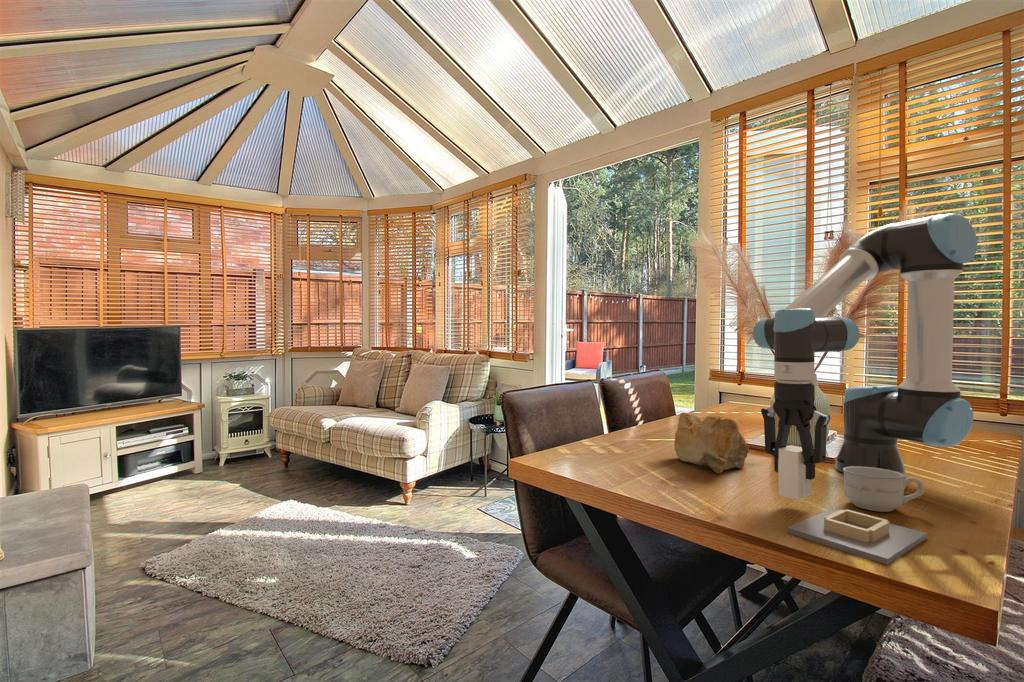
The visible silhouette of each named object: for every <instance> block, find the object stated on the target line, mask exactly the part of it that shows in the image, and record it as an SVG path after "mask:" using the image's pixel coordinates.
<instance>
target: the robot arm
mask: <svg viewBox="0 0 1024 682" xmlns="http://www.w3.org/2000/svg"><path fill="white" fill-rule="evenodd" d="M976 233H977V232H976V231H975V228H974V227H973V225H972V224H971V223H970V222H969V220H968V219H967V218H965V217H964V216H963V215H961V214H958V213H945V214H932V215H931V216H930V215H929V216H926V217H925V216H924V217H919V218H916V219H910V220H904V221H901V222H893V223H889V224H886V225H883V226H880V227H878V228H876V229H874V230H872V231H870V232H869V233H867V234H866V235H864V236H863V237H861V238H859V239H858V240H856V241H855V242H854V243H853V244H852V243H851V245H850V246H848V247H847V248H846V249H845V250H844V251H843V252H842V253H841V254H840V255H839V258H838V261H837V262H836V263H835V264H834V265H833V266H832V267H830V268H829V270H828V271H826V272H825V273H824V274H822V276H821V277H819V278H818V279H817V280H816V281H815V282H814V283H812V284H811V285H810V286H809V287H808V288H807V289H806V290H805V291H803V292H802V293H801V294H800V295H799V296H798V297H796V298H795V299H794V300H793V301H792V302H791V303H790V304H788V306H786V307H785V308H782V309H781V308H780V309H778V310H775V311H776V312H775V313H774V317H773V318H772V317H767V318H763V319H759V321H757V322H756V323H755V324H754V327H753V330H752V337H753V340H754V342H755V344H756V345H757V346H758V347H759V348H761V349H768V350H771V351H774V352H773V353H774V354H773V355H774V357H773V359H774V360H773V364H774V365H773V370H774V374H773V375H774V376H773V377H774V379H775V382H774V383H773V384H774V385H773V388H774V389H773V391H774V392H773V393H774V394H773V396H774V403H773V404H772V406H770V407H769V406H768V407H764V408H761V410H760V413H761V416H762V419H763V431H764V433H763V434H764V451H765V453H766V454H770V455H771V456H773V458H774V460H773V461H774V462H773V463H774V472H775V473H778V474H777V482H778V484H777V485H778V487H777V489H778V490H779V449H780V448H783V447H787V446H788V445H787V444H788V439H789V435H790V430H791V428H792V426H794V427H795V428H796V431H797V432H798V436H799V441H800V447H802V451H803V456H804V461H805V462H803V463H801V495H804V496H805V495H807V494H809V493H810V494H812V480H814V479H815V478H816V464H820V463H823V462H825V461H826V458H827V433H828V432H827V430H828V424H829V423H830V421H831V416H830V415H829V414H824V413H822V412H820V411H818V410H817V408H816V405H815V400H816V399H815V391H816V390H815V386H816V385H815V384H814V382H813V381H815V379H816V378H815V377H816V376H815V375H816V374H815V371H816V370H815V362H816V361H815V355H816V354H815V353H830V352H831V353H833V352H834V353H835V352H836V353H841V352H844V351H849V350H852V349H853V348H855V346H856V345H857V344H858V342H859V339H860V329H859V325H857V323H856V322H855V321H854V320H853V319H850V318H848V317H840V316H832V317H831V316H830V317H826V316H827V314H829V313H830V312H831V311H833V310H834V308H835V307H836V306H837V305H839V304H840V303H841V302H842V301H843V300H844V299H845V298H847V296H849V295H850V294H851V293H852V292H853V291H854V290H855V289H856V288H858V287H859V286H860V285H861V284H862V283H864V282H868V281H870V280H873V279H874V278H875V277H876V276H877V275H879V274H882V273H885V272H889V271H894V270H899V272H900V274H899V276H900V277H902V278H903V279H904V280H906V282H907V301H906V303H907V304H906V305H907V306H906V308H907V309H906V310H907V311H906V344H905V345H906V346H905V347H906V348H905V350H906V351H905V353H906V354H905V355H906V357H905V361H906V362H905V380H904V381H903V382H901V383H900V384H899V385H898V386H897V385H868V386H867V385H866V386H852V387H851V386H850V387H848V388H846V390H845V391H844V397H843V402H842V404H843V442H842V444H841V446H840V449H839V450H838V454H837V456H836V458H835V469H836V470H837V471H838V472H840V473H842V474H844V471H843V468H845V467H853V466H855V467H872V468H880V469H886V470H891V471H895V472H899V473H901V474H903V475H904V478H906V467H905V465H904V462H903V460H902V456H901V453H900V451H899V449H898V440H902V441H903V440H904V441H908V442H914V443H918V444H924V445H926V446H930V447H932V446H933V447H941V448H952V447H955V446H957V445H959V444H960V443H962V442H963V441H964V439H965V438H966V437H967V436H968V435H969V433H970V431H971V429H972V426H973V422H974V409H973V408H972V405H971V403H970V402H969V401H968V400H966V399H964V398H961V389H960V388H959V387H958V386H957V385H956V384H954V382H953V354H954V351H953V350H954V308H955V307H954V306H955V280H956V278H958V277H959V276H960V275H961V274H962V273H964V264H967V263H969V262H971V261H973V259H974V258H975V257H976V255H975V254H977V251H978V237H977V234H976ZM776 415H777V416H778V419H779V420H778V424H777V428H778V430H777V433H776ZM813 418H814V423H815V425H814V439H812V433H811V428H812V427H811V420H812V419H813ZM813 440H814V443H813Z"/></svg>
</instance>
